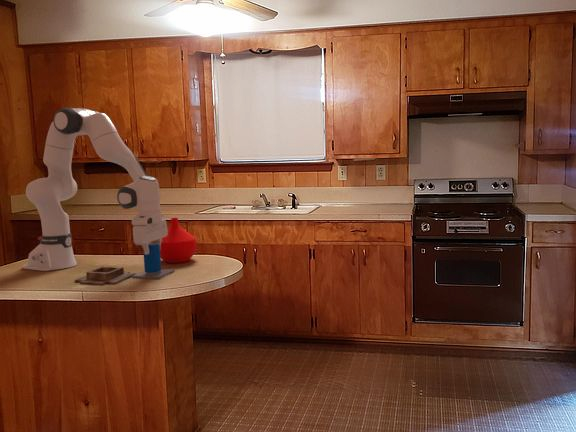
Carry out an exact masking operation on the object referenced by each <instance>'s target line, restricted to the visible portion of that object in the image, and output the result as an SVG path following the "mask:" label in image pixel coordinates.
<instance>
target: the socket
mask: <svg viewBox="0 0 576 432" xmlns="http://www.w3.org/2000/svg"><path fill="white" fill-rule="evenodd" d="M124 270H125V269H124V267H122V266H103V265H102V266H100V267H97V268H94V269H91V270H89V271H86V275H84V276H81V277H78V278H76V279H74V283H79V284H80V285H94V286H105V285H106V284H107V285H116V284H119V283H122V282H123V281H125V280H128V279H130V278H132V276H133V275H135V274H137V273H135V272H130V271H124Z"/></svg>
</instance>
